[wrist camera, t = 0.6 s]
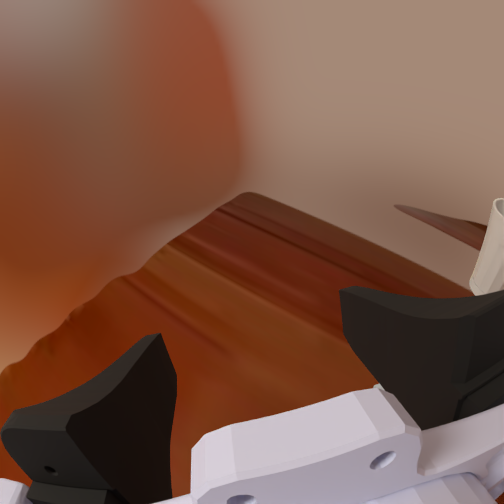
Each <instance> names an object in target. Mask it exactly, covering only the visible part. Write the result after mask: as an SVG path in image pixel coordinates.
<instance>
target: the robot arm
mask: <svg viewBox="0 0 504 504" xmlns="http://www.w3.org/2000/svg"><path fill="white" fill-rule="evenodd" d="M339 293H340V302H341V312H342V322H343V333H344V335H345V337H346V339H347V341H348V343H349V344H350V346H351V348H352V350H353V351H354V352H355V354H356V355H357V356H358V358H359V359H360V360H361V361H362V363H363V364H364V365H365V366H366V367H367V369H368V370H369V371H370V372H371V374H372V375H373V376H374V377H375V378H376V380H377V381H378V382H379V383H380V385H381V386H382V387H383V389H384V390H385V391H384V390H382V389H379V388H372V389H366V390H360V391H353V392H350V393H347V394H344V395H341V396H338V397H335V398H332V399H329V400H326V401H323V402H319V403H316V404H313V405H309V406H306V407H302V408H299V409H295V410H292V411H288V412H284V413H280V414H276V415H272V416H268V417H264V418H260V419H255V420H251V421H246V422H241V423H236V424H231V425H228V426H226V427H223V428H220V429H218V430H215V431H212V432H210V433H207V434H205V435H204V436H203V437H202V438H201V439H200V440H199V442H198V443H197V444H196V445H195V446H194V447H193V448H192V458H191V493H190V494H187V495H183V496H180V497H176V498H172V488H171V472H170V439H171V431H172V424H173V417H174V411H175V404H176V397H177V374H176V372H175V369H174V367H173V364H172V362H171V359H170V357H169V354H168V351H167V349H166V346H165V344H164V341H163V338H162V336H161V333H157V334H152V335H147V336H145V337H143V338H142V339H141V340H139V341H138V342H137V343H136V344H135V345H133V346H132V347H131V348H130V349H129V350H128V351H127V352H126V353H124V354H123V355H122V356H121V357H120V358H119V359H117V360H116V361H115V362H114V363H112V364H111V365H110V366H109V367H108V368H106V369H105V370H104V371H102V372H101V373H100V374H98V375H97V376H95V377H94V378H92V379H91V380H89V381H88V382H86V383H85V384H83V385H81V386H79V387H77V388H75V389H73V390H71V391H69V392H67V393H66V394H63V395H61V396H59V397H56V398H54V399H51V400H49V401H46V402H43V403H40V404H37V405H33V406H29V407H25V408H21V409H17V410H14V411H13V412H12V414H11V415H10V417H9V418H8V420H7V421H6V423H5V424H4V426H3V427H2V429H1V433H0V434H1V440H2V442H3V444H4V446H5V449H6V450H7V451H8V453H9V454H10V456H11V457H12V458H13V459H14V460H15V462H16V463H17V464H18V465H19V466H20V467H21V469H22V470H23V471H24V472H25V473H26V474H27V475H28V476H29V477H30V478H31V480H33V482H32V484H31V487H30V488H29V487H28V486H26V485H25V484H23V483H20V482H16V481H12V480H8V479H4V478H1V479H0V504H497V502H496V501H495V499H496V498H498V497H499V496H500V495H501V494H502V493H503V492H504V290H500V291H496V292H492V293H488V294H484V295H478V296H471V297H463V298H446V299H433V298H418V297H410V296H404V295H398V294H393V293H388V292H383V291H379V290H374V289H370V288H365V287H359V286H351V287H348V288H344V289H341V290H339Z"/></svg>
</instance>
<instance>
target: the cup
mask: <svg viewBox="0 0 504 504" xmlns="http://www.w3.org/2000/svg"><path fill="white" fill-rule="evenodd" d="M469 283H470V288H471V290H472V292H473V293H474V294H475V296H478V295H484V294H488V293H492V292H496V291H500V290H504V198H499V199H496V200H494V202H493V207H492V211H491V215H490V219H489V223H488V228H487V232H486V235H485V238H484V242H483V245H482V248H481V251H480V254H479V258H478V261H477V263H476V266H475V269H474V272H473V274H472V276H471V278H470V282H469Z"/></svg>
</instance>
